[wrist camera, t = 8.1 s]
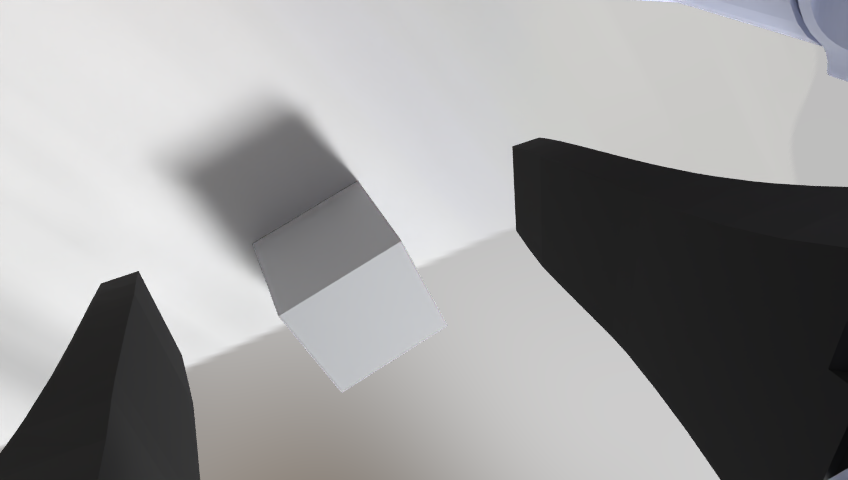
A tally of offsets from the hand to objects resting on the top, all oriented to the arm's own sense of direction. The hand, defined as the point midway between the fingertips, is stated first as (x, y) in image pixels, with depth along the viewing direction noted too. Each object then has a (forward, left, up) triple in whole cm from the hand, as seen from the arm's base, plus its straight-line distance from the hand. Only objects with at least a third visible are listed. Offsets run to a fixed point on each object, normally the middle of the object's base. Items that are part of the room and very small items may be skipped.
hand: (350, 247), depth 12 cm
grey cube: (-3, +7, -10) cm, 13 cm away
